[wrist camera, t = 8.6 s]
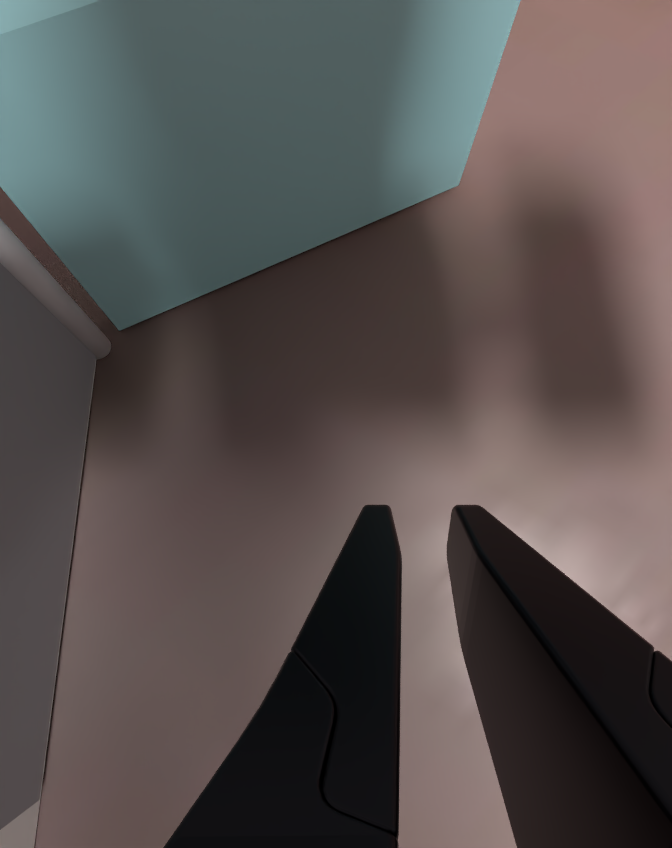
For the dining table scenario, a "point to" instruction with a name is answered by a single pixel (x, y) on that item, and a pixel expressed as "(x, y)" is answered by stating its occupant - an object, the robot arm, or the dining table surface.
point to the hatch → (230, 129)
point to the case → (36, 510)
